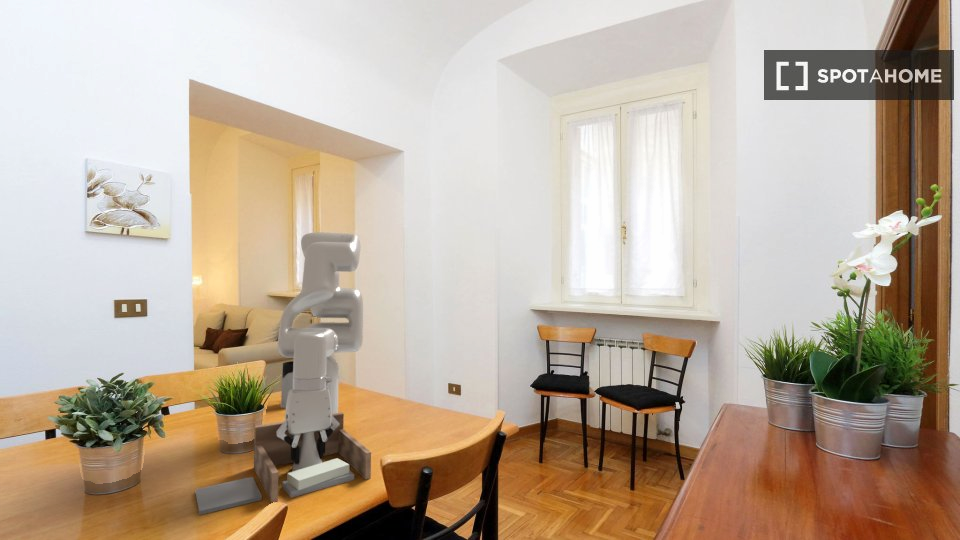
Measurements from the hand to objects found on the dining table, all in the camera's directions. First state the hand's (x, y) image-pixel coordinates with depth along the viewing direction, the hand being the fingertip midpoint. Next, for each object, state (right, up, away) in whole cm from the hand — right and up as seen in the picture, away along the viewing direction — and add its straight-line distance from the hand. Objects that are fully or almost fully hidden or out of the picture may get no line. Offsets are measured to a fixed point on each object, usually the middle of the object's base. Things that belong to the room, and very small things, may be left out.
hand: (308, 458), depth 111 cm
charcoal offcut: (+5, -3, -7) cm, 10 cm away
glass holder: (-27, -3, +57) cm, 63 cm away
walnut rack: (+2, -2, -2) cm, 4 cm away
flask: (0, -3, 0) cm, 3 cm away
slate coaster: (-11, -2, -14) cm, 18 cm away
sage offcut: (+5, -1, -7) cm, 9 cm away
